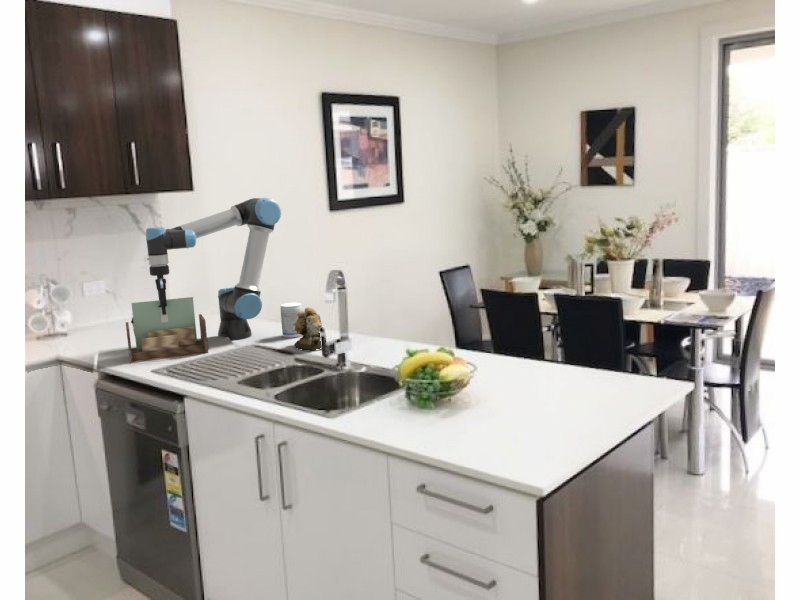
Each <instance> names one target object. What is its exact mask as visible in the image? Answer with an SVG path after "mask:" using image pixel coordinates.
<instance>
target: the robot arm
mask: <svg viewBox="0 0 800 600" xmlns="http://www.w3.org/2000/svg"><path fill="white" fill-rule="evenodd" d="M281 211H282V209H281V206H280V205H279V203H278V202H277V201H276V200H274V199H272V198H268V197H260V198H257V197H254V198H249V199H247V200H245V201H242V202H240V203H237V204H235V205H232V206H231V207H230V209H226V210H224V211H221V212H217V213H215V214H212V215H209V216H208V215H207V216H206V217H203V218H199V219H197V220H194V221H190V222H188V223H184V224H181V225H179V226H176V227H173V228H165V227H163V226H156V227H148V228H146V230H145V238H146V239H145V240H146V248H147V249H146V250H147V255H148V256H147V258H146V260H147V261H148V264H149V274H150V276H152V277H155V276H156V279H154V280H155V281H154V282H155V285H156V290H157V296H158V300H160V306H158V307H160V313H161V322H162V323H163V322H168V312H167V302H166V300H167V293H166V292H167V291H166V290H167V286H166V284H167V279H166V278H164V276H167V275H170V265H168V264H169V254H168V250H179V249H180V250H181V249H189V248H194V247H196V244H197V239H200V238H203V237H206V236H208V235H212V234H214V233H217V232H221V231H224V230H226V229H230V228H232V227H234V226H237V227H242V226H244V225H245V226H247V227H248V229H249V232H248V237H247V242H246V246H245V252H244V256H243V262H242V266H241V271H240V275H239V276H240V277H239V282H238V283H236V284H235V285H234V286H232V287H225V288H220V289H219V290H218V292H217V293H218V295H217V298H218V307H219V316H220V317H219V319H220V323H219V328H218V331H217V336H218V337H221V338H228V339H229V340H230V341H231V340H232V341H234V340H241V339H246V338H249V337H251V336H252V329H251V326H250V324H249V322H248V320H252V319H255V318H256V317H257V316H259V314H260V313H261V311H262V309H263V301H262V299H261V297H260V296H261V292H262V290H261V289H260V287H259V285H260V279H261V275H262V270H263V267H264V262H265V256H266V250H267V247H268V240H269V236H270V234H271V233H273V232H274V230H275V225H276V224H277V223H278V222H279V221H280V220H281V216H282V212H281Z"/></svg>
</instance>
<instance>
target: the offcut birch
mask: <svg viewBox="0 0 800 600" xmlns="http://www.w3.org/2000/svg"><path fill="white" fill-rule="evenodd" d="M141 344H142V352H144V351H152V350H160V349H168V348H176V347H179V346H178V336H177V335H169V336H161V337H152V338H144V339H141Z"/></svg>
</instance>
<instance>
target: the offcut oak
mask: <svg viewBox="0 0 800 600" xmlns="http://www.w3.org/2000/svg"><path fill="white" fill-rule="evenodd" d="M169 335H177V336H178V346H180V345H188V344H195V333H194V327H185V328H176V329H167V330H159V331H150V332H148V337H149V338H152V337H161V336H169Z"/></svg>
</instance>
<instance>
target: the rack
mask: <svg viewBox="0 0 800 600" xmlns="http://www.w3.org/2000/svg"><path fill="white" fill-rule="evenodd" d="M198 320H199V332H200V339H197V342H195V344H188V345H180V346H179V347H176V348H168V349H160V350H152V351H144V352H142V349H137V348H136V347H133V348H132V344H131V335H130V325H129V322H128V321H126V322H125V329H126V338H127V346H128V356H129V362H130V364H135V363H143V362H151V361H157V360H158V361H159V360H165V359H166V360H167V359H175V358H182V357H190V356H195V355H206V354H209V346H208V345H209V344H208V337H207V336H208V335H207V325H206V323H207V322H206V319H205V317H204V316H203V315H202V314H198Z"/></svg>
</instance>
